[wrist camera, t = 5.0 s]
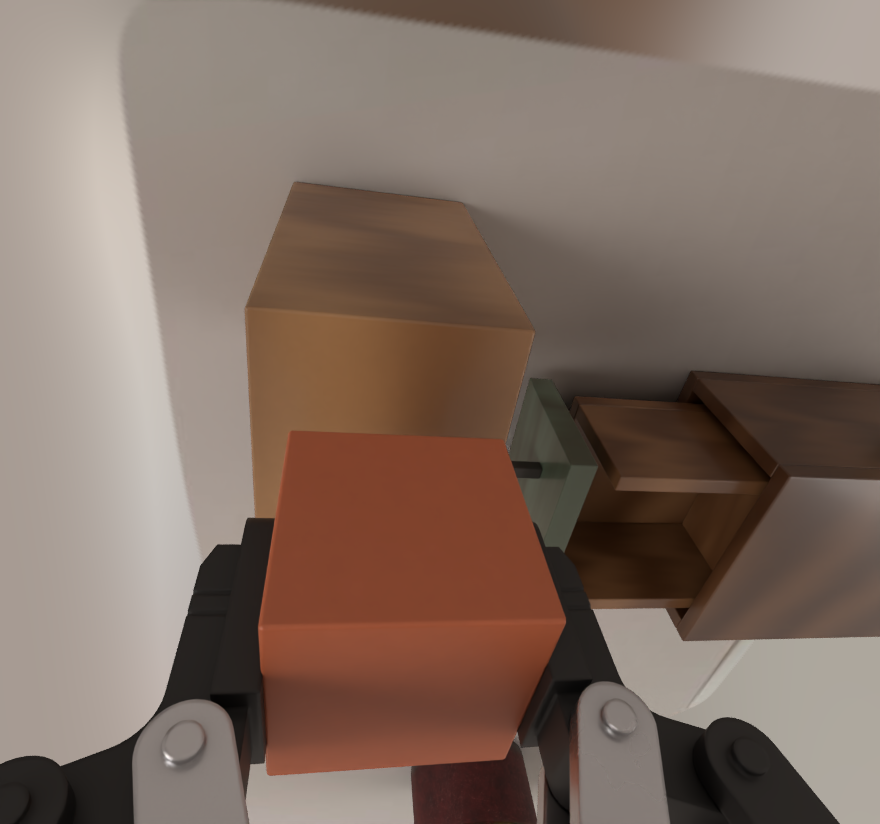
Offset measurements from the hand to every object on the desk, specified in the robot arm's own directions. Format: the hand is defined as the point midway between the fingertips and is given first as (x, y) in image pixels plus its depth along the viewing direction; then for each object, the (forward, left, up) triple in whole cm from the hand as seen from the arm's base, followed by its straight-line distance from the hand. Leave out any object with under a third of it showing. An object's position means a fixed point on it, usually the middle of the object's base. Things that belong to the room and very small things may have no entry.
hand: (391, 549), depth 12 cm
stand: (0, 0, -16) cm, 16 cm away
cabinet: (+20, +17, -16) cm, 30 cm away
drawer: (+14, +6, -15) cm, 22 cm away
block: (0, 0, -1) cm, 1 cm away
